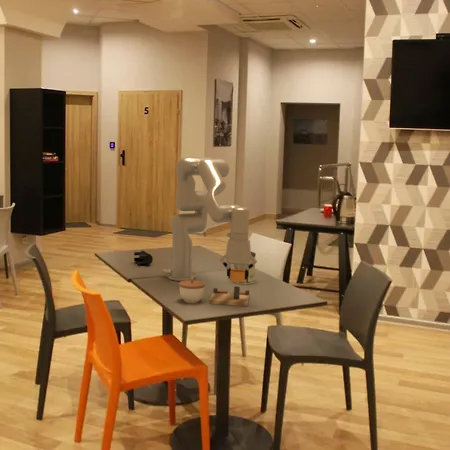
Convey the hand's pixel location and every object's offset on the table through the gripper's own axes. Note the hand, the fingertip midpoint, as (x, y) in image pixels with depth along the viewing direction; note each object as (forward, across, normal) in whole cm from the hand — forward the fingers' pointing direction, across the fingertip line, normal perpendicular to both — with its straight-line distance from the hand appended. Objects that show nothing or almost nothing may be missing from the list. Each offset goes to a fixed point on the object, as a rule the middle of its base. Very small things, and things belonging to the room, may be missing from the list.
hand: (237, 278), depth 268 cm
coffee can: (+10, 0, +37) cm, 39 cm away
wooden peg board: (+10, -3, +2) cm, 11 cm away
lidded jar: (+11, -19, -3) cm, 22 cm away
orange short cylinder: (+1, 0, 0) cm, 1 cm away
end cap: (+10, -55, +60) cm, 82 cm away
